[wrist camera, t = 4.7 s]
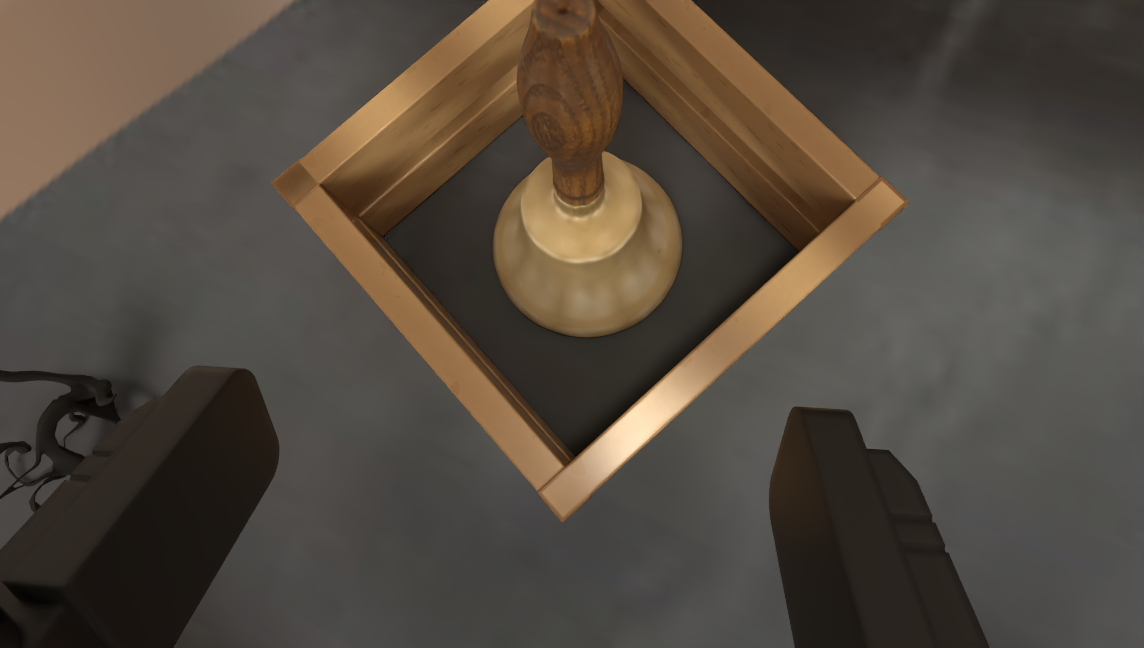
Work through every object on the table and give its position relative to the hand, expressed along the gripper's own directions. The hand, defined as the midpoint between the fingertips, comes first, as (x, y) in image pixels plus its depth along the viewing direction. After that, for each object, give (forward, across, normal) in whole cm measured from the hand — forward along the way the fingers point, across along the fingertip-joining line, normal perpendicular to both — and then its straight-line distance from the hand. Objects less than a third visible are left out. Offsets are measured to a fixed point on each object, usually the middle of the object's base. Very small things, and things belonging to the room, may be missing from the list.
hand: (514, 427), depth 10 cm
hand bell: (+18, 0, +7) cm, 20 cm away
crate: (+18, 0, +7) cm, 19 cm away
